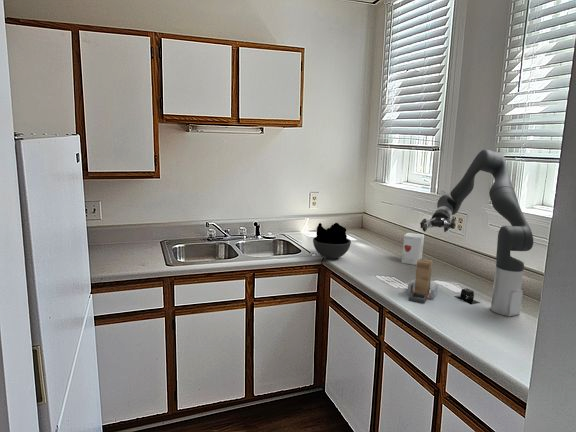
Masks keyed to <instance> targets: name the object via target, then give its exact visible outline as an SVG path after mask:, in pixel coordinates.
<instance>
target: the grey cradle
mask: <svg viewBox="0 0 576 432" xmlns="http://www.w3.org/2000/svg"><path fill="white" fill-rule="evenodd" d="M415 280H416V279H412V280H411V281H410V282H409V284H408V285H407V293H406V294H407V295H408V296H410V295H411V294H412V293H414V291H415ZM438 288H439V283H434V284H433V286H432V287H431V288H430V292H429V294H428V297H427V300H433V301H434V299H435V297H436V296H437V294H438Z"/></svg>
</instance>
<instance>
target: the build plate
mask: <svg viewBox="0 0 576 432" xmlns="http://www.w3.org/2000/svg"><path fill="white" fill-rule="evenodd" d="M453 297H454V298H456V299H458V300H460V301H463V302H465V303H466V304H469V305H476V304H481V303H482V302H480V301H478V300H476V299H474V298H475V292H474V290H472V289H469V288H468V287H466V288H461V291H460V294H459V295H453Z"/></svg>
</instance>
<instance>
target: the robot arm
mask: <svg viewBox="0 0 576 432" xmlns="http://www.w3.org/2000/svg"><path fill="white" fill-rule="evenodd" d="M480 171H481V172H486V173H489V174H491V175H492V176H493V180H494V182H493V184H492V185H491V187H490V189H489V191H488V194H489V198H490V202H491V205H492V207H493V209H494V210H495V211H496V213H498V214H499V215H500V216H501V217H503V218H504V219H505V220H506V221H507V222H509V224H510V225H502V226H501V227H500V228H499V231H498V234H497V242H496V243H497V244H496V255H495V258H496V259H495V260H496V262H495V263H496V264H495V271H494V277H493V278H494V279H493V287H492V291H491V292H492V294H491V301H490V311H492V312H494V313H495V314H498V315H502V316H506V317H514V316H519V315H520V313H521V307H522V300H523V295H524V290H523V289H522V283H523V275H524V269H525V263H524V262H523V261H522V260H520V259H517V258H515V257H512V256H511V252H529V251H530V250H532V249H533V246H534V235H533V232H532V229H531V226H530V225H529V223H528V222H527V220H526V218H525V216H524V214H523V212H522V208H521V206H520V204H519V200H518V197H517V193H516V192H515V191H516V190H515V188H514V186H513V184H512V181H511V177H510V173H509V168H508V164H507V159H506V156H504V154H502V153H500V152H497V151H494V150H491V149H485V148H484V149H482V150H480V151H479V152H478V153H477V155H476V156H475V157H474V159H473V161H472V162H471V164H470V165H469V166H468V168H467V170H466V172H465V173H464V175H463V177H462V178H461V179H460V180H459V182H457V184H456V185H455V186H454V187H453V188H452V190H451V191H450V194H449V195H450V196H449V195H448V194H445V195H441V196H440V197H439V199H437V203H436V207H437V208H436V210H434V213H433V214H432V216H431V217H430V219H427V218H423V219H422V220H421V221H420V229H422V231H423V233H424V232H425V233H426V232H427V230H428V229H432V228H443V232H444V233H446V232H448V231H449V229H455V227H456V218H452V216H453V215H457V213H458V212H459V210H460V208H461V205H462V203H463V202H464V200H465V199H466V198H467V197H468V196H469V195H470V194H471V193H472V192H473V190H474V186H475V178H476V175H477V174H478V173H479V172H480Z"/></svg>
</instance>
